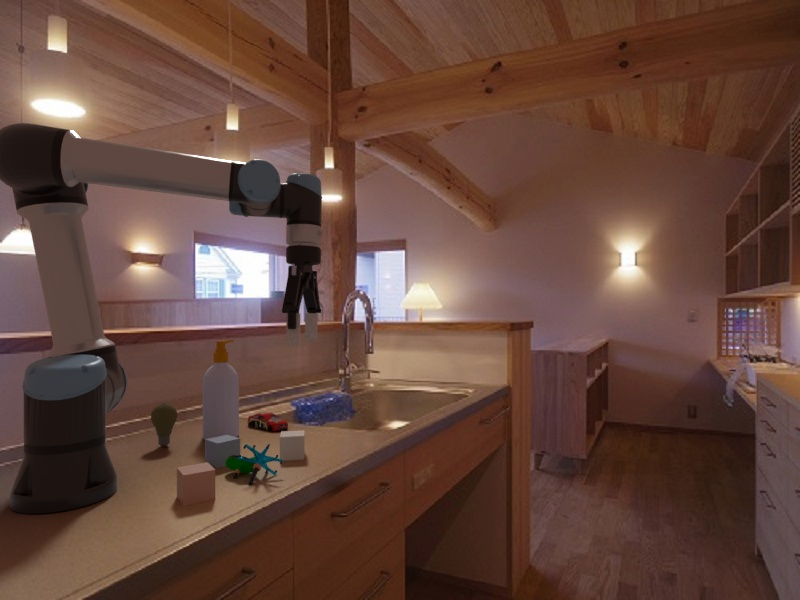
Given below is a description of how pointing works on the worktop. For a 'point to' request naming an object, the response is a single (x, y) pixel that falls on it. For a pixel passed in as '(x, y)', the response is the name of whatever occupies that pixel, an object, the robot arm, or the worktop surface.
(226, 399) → the soap bottle
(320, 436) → the worktop surface
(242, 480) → the worktop surface
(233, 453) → the slate blue cube
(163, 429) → the light bulb
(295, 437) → the cream cube
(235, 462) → the stick construction toy
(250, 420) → the race car
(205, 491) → the terracotta cube
